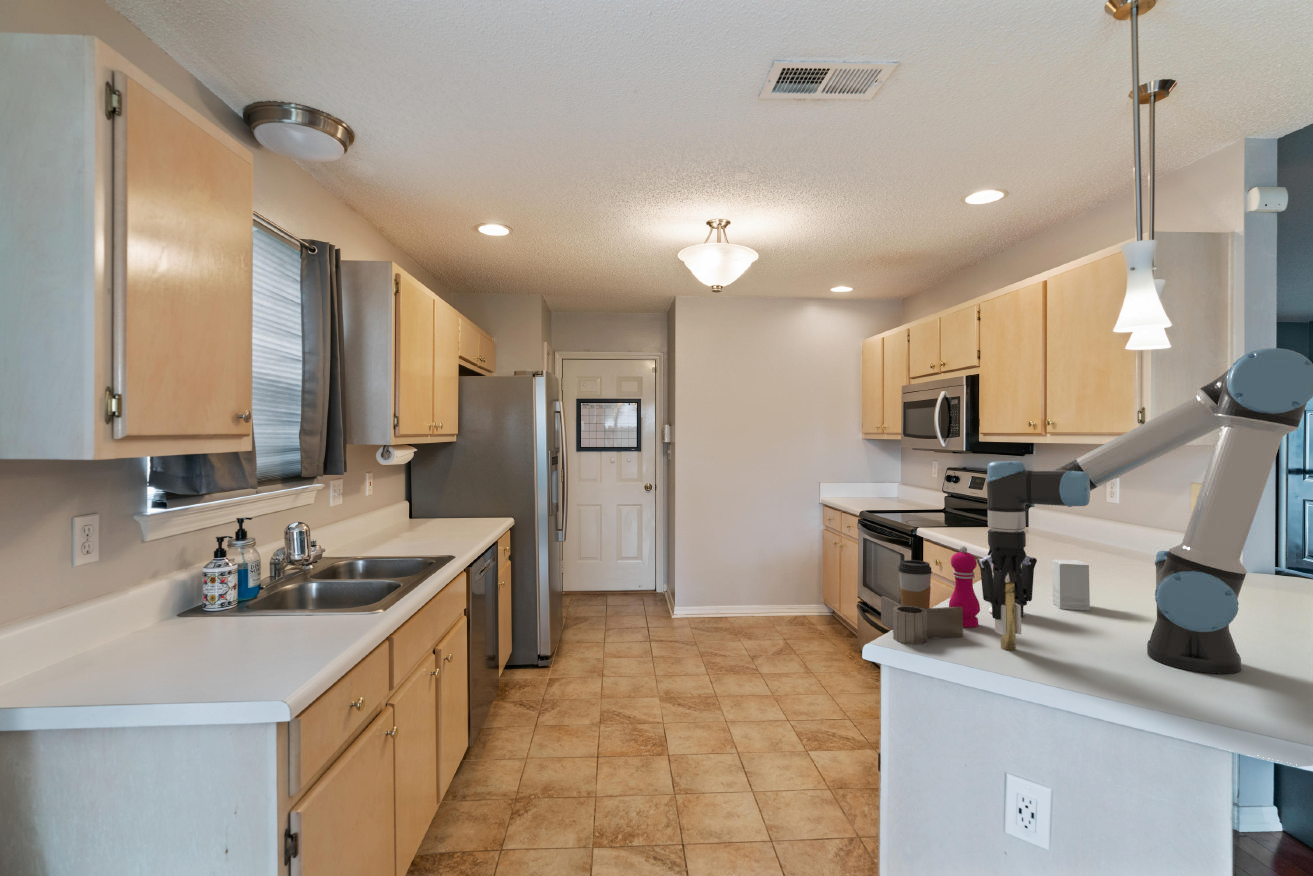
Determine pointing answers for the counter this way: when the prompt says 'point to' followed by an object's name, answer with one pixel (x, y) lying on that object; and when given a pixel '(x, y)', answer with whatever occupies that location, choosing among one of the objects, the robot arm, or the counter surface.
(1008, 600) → the gold metal bar
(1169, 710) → the counter surface
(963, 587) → the pepper mill
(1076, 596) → the supplement box
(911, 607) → the hinge
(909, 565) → the coffee cup
